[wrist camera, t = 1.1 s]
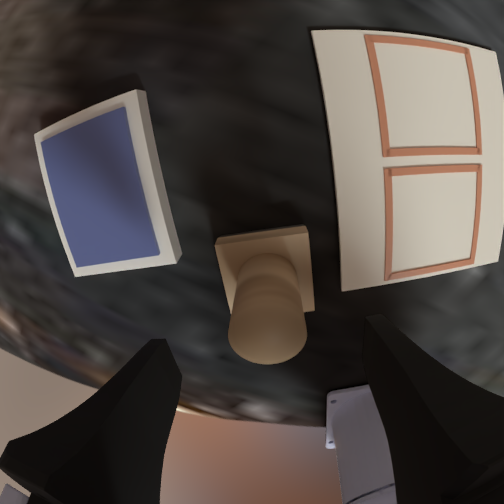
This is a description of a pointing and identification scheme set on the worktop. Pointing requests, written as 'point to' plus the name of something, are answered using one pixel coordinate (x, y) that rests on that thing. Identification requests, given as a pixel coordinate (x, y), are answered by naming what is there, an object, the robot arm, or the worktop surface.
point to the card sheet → (412, 153)
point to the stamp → (267, 291)
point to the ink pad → (108, 187)
